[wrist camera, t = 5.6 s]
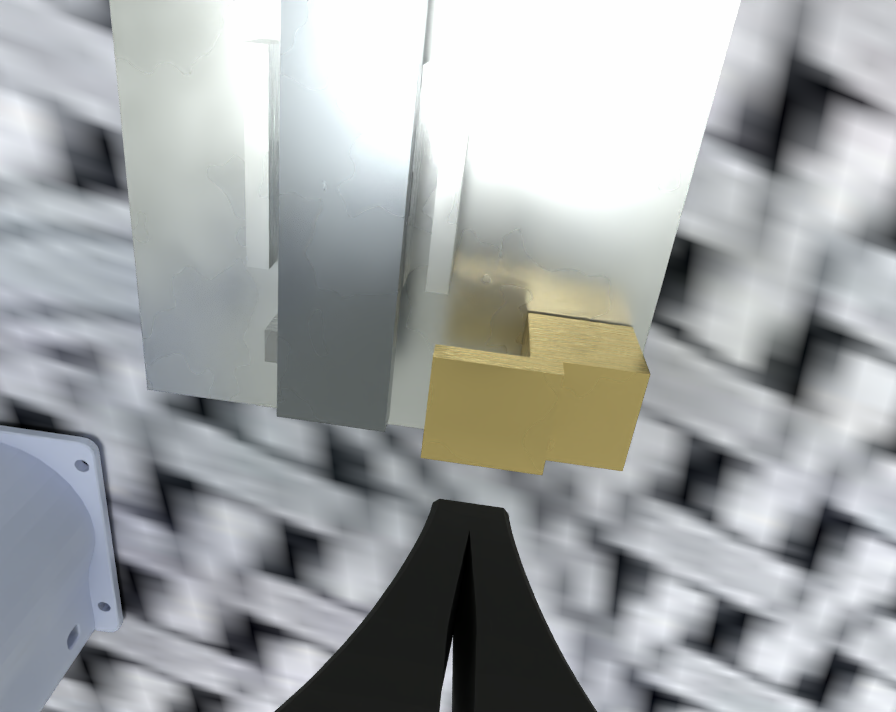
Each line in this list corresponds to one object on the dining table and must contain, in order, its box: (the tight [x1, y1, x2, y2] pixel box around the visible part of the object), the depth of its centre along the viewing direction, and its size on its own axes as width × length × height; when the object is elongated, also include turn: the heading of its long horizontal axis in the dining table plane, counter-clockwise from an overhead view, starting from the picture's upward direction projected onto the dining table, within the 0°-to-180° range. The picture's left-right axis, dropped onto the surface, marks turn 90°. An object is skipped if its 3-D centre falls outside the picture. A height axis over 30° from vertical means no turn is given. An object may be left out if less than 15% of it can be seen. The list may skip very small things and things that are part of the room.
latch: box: [421, 313, 650, 475], centre depth 19 cm, size 3×5×4 cm, turn 83°
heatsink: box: [109, 0, 741, 429], centre depth 18 cm, size 15×15×3 cm
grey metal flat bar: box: [277, 0, 428, 432], centre depth 17 cm, size 13×3×1 cm, turn 173°
